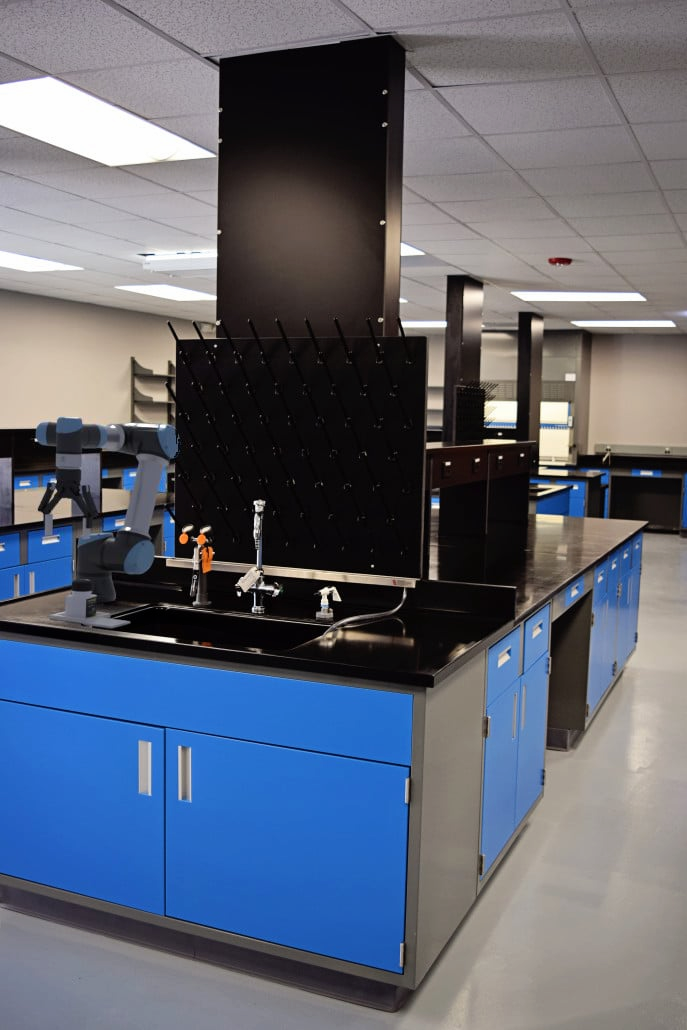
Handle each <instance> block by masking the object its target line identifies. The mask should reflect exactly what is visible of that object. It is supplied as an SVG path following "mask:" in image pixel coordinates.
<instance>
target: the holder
mask: <svg viewBox="0 0 687 1030" xmlns="http://www.w3.org/2000/svg"><path fill="white" fill-rule="evenodd" d="M111 616H112V614H111V612H110V613H108V612H102V611H96V616H93V617H89V618H77V617H70V616H65V611H62V612H56V613H53V614H50V615H49V619H50V620H56V621H63V622H64V621H65V622H69V623H70V622H71V623H79V624H83V622H87V621H91V620H95V619H99V618H109V619H111Z"/></svg>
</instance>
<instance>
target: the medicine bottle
mask: <svg viewBox="0 0 687 1030" xmlns="http://www.w3.org/2000/svg"><path fill="white" fill-rule="evenodd" d="M71 591H72V592H70V594H69V595H66V596H65V599H64V600H65V601H64V602H65V603H64V604H65V605H64V612H65V616H70V617H77V618H89V617H93V616H96V612H97V606H98V605H97V604H98V603H97V595H93V594H91V593H92V582H91V581H90V580H86V579H76V578H75V579H74V580H72V581H71ZM71 593H72V595H71Z"/></svg>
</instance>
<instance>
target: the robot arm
mask: <svg viewBox="0 0 687 1030" xmlns="http://www.w3.org/2000/svg"><path fill="white" fill-rule="evenodd" d="M175 429H176V428H175V427H174V425H171V424H168V423H167V424H165V423H161V422H160V423H156V422H152V423H151V422H137V421H136V422H125V423H110V424H107V425H101V424H97V423H83V419H82V418H81V417H74V416H73V417H72V416H70V417H68V416H67V417H66V416H60V417H58V418H57V420H56V422H53V421H42V422H40V423H39V424H37V426H36V429H35V439H36V441H37V442H38V443H39V444H40V445H42V446H47V447H56V451H55V466H56V469H55V481H56V483H55V482H53V481H52V482H51V481H50V482H47V483H46V489H45V492H44V494H43V496H42V498H41V500H40V503H39V505H38V507H37V512H40V513H42V517H43V519H42V523H43V525H44V536H45V537H46V536H53V524H54V523H53V520H54V519H53V518H54V516H53V515H54V514H53V513H52V512H53V510H54V509H55V508H56V507H57V505H58V504H59V502H60V501H61V500H62V499H69V500H73V502H75V503H76V505H77V507H78V508H79V509H80V511H81V512H82V514H83V515H84V517H82V534H81V535H80V536H79V538H78V543H77V556H76V557H77V558H76V559H77V561H76V578H75V580H76V579H86V580H90V581H91V582H92V593H91V594H93V595H97V604H98V603H99V604H100V603H111V602H114V601H116V600H115V599H116V595H117V594H116V590H115V586H114V583H113V579H112V573H113V572H114V573H122V574H128V575H142V574H144V573H146V572H147V571H148V570H149V569H150V568H151V566H152V564H153V562H154V560H155V553H156V552H155V546H154V544H153V542H151V541H152V537H151V536H150V534H149V530H150V525H151V522H152V519H153V514H154V509H155V505H156V502H157V495H158V492H159V489H160V488H159V487H160V484H161V480H162V476H163V471H164V468H166V467H168V466H169V465H170V461H171V459H174V458H175V457H174V456H175V454H176V452H178V443H179V442H178V439H180V435H179V434H178V438H177V444H176V435H175ZM98 448H99V449H106V450H107V451H109V452H118V453H123V454H127V455H132V456H135V457H136V459H137V461H138V466H137V470H136V475H135V478H134V483H133V486H132V491H131V494H130V498H129V502H128V506H127V510H126V514H125V518H124V523H123V526H122V527H121V528H120V529H118V530H117V533H116V536H115V535H114V533H113V532H98V533H96V532H95V533H91V529H92V528H93V518H94V517H98V516H99V512H98V508H97V506H96V504H95V503H96V502H95V500H94V498H93V496H92V493H91V486H90V484H85V485H84V484H83V485H81V481H82V470H81V469H80V468H82V464H83V463H82V461H83V460H82V457H83V456H82V455H83V449H95V450H96V449H98ZM55 490H56V492H55ZM54 492H55V494H54ZM80 492H81V493H80ZM53 494H54V495H53ZM52 497H53V498H52ZM114 536H115V537H114ZM71 592H72V590H71ZM71 592H70V595H72V593H71ZM110 601H111V602H110Z"/></svg>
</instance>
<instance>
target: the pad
mask: <svg viewBox="0 0 687 1030" xmlns="http://www.w3.org/2000/svg"><path fill="white" fill-rule="evenodd" d="M82 624H83V625H84V626H85V625H86V626H89V627H90V626H92V627H98V628H105V629H114V628H115V629H116V628H118V627H122V626H126V625H130V624H131V621H130V620H122V619H115V618H99V619H95V620H91V621H87V622H83V623H82Z"/></svg>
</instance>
